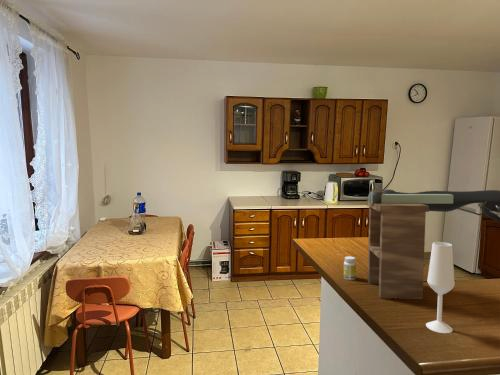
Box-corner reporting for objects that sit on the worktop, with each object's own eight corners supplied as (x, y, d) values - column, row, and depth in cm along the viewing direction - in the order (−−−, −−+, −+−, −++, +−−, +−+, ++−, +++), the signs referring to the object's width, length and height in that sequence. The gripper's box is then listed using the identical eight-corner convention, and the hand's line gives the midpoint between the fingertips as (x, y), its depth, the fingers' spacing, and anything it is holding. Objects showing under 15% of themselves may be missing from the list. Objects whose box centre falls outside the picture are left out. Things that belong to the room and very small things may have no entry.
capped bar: (367, 202, 125) (368, 191, 125) (447, 202, 123) (447, 191, 123) (371, 203, 121) (371, 192, 120) (454, 203, 119) (454, 192, 119)
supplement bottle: (356, 276, 139) (356, 256, 138) (355, 280, 135) (356, 259, 134) (343, 275, 141) (344, 255, 140) (343, 279, 136) (343, 258, 136)
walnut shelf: (365, 281, 133) (366, 200, 131) (407, 282, 132) (409, 200, 130) (377, 298, 117) (379, 205, 115) (425, 299, 116) (428, 205, 114)
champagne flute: (430, 319, 102) (433, 239, 100) (456, 327, 97) (459, 243, 95) (421, 327, 97) (424, 243, 95) (448, 335, 92) (451, 248, 90)
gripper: (524, 215, 126) (485, 193, 127) (556, 222, 112) (511, 198, 113) (513, 232, 127) (474, 211, 128) (543, 241, 113) (499, 217, 113)
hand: (492, 205), depth 120 cm, fingers open, 8 cm apart
